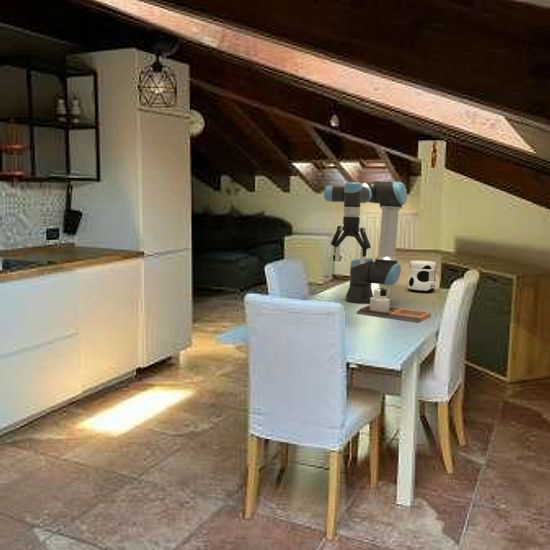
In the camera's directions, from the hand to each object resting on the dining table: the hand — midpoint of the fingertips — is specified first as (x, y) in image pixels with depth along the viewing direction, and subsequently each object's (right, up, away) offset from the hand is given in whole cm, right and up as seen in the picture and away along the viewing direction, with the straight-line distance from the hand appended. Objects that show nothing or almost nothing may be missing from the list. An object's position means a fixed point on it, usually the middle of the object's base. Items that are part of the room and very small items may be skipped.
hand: (349, 262), depth 281 cm
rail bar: (+19, -26, +7) cm, 33 cm away
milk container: (+55, -16, +90) cm, 106 cm away
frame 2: (+30, -26, +11) cm, 42 cm away
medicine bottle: (+17, -25, +19) cm, 36 cm away
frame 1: (+17, -25, +19) cm, 35 cm away
